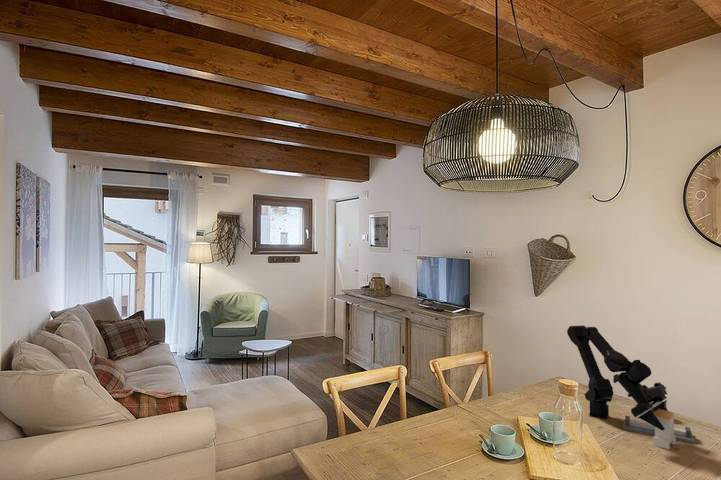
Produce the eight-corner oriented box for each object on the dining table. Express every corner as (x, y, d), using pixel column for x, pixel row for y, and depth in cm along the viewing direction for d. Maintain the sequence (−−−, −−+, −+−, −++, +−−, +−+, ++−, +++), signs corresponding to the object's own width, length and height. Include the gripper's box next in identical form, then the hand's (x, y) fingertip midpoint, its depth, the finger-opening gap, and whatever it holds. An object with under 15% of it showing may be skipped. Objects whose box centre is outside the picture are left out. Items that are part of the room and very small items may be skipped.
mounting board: (622, 429, 162) (622, 420, 163) (623, 421, 169) (623, 413, 169) (694, 443, 150) (694, 434, 150) (692, 435, 157) (691, 426, 157)
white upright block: (653, 444, 150) (652, 412, 150) (661, 438, 154) (660, 407, 154) (668, 449, 146) (667, 417, 146) (675, 443, 151) (675, 411, 151)
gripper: (640, 381, 148) (678, 422, 139) (659, 371, 159) (696, 409, 150) (616, 397, 155) (651, 437, 146) (637, 386, 166) (670, 423, 157)
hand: (668, 426), depth 149 cm, fingers open, 9 cm apart
